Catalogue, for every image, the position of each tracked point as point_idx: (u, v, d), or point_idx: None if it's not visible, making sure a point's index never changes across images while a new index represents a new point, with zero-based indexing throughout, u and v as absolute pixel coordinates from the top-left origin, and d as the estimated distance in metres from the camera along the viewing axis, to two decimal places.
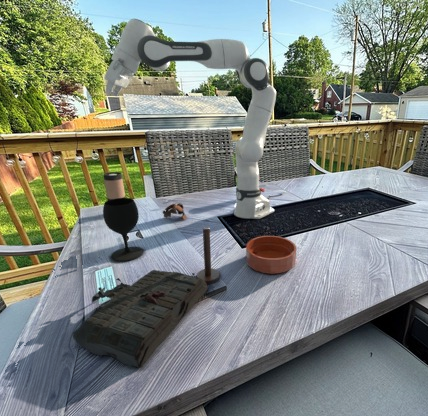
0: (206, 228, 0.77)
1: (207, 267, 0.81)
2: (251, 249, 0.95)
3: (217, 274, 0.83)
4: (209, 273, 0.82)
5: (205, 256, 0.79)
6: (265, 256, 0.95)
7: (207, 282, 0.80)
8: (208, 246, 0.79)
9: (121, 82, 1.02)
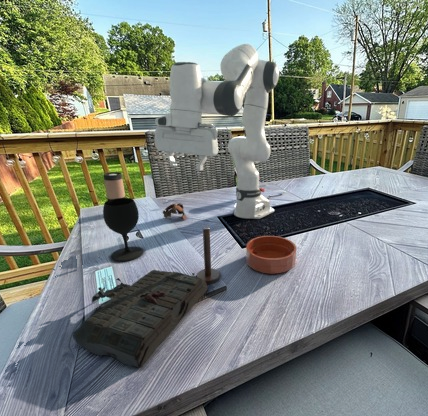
0: (206, 228, 0.77)
1: (207, 267, 0.81)
2: (251, 249, 0.95)
3: (217, 274, 0.83)
4: (209, 273, 0.82)
5: (205, 256, 0.79)
6: (265, 256, 0.95)
7: (207, 282, 0.80)
8: (208, 246, 0.79)
9: None
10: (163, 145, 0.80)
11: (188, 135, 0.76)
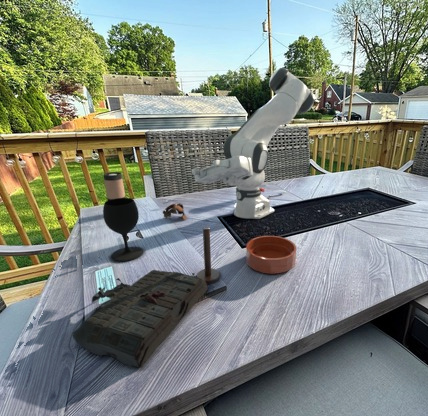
0: (206, 228, 0.77)
1: (207, 267, 0.81)
2: (251, 249, 0.95)
3: (217, 274, 0.83)
4: (209, 273, 0.82)
5: (205, 256, 0.79)
6: (265, 256, 0.95)
7: (207, 282, 0.80)
8: (208, 246, 0.79)
9: (214, 166, 0.87)
10: (234, 169, 0.83)
11: (222, 178, 0.90)
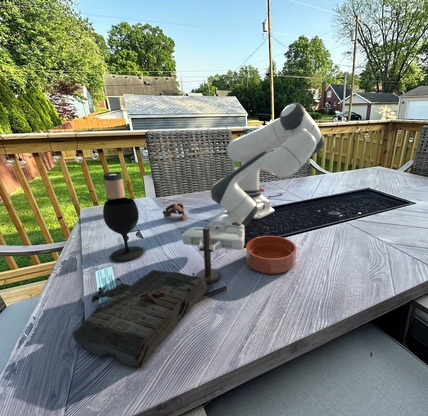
0: (206, 228, 0.77)
1: (207, 267, 0.81)
2: (251, 249, 0.95)
3: (217, 274, 0.83)
4: (209, 273, 0.82)
5: (205, 256, 0.79)
6: (265, 256, 0.95)
7: (207, 282, 0.80)
8: (208, 246, 0.79)
9: None
10: None
11: None
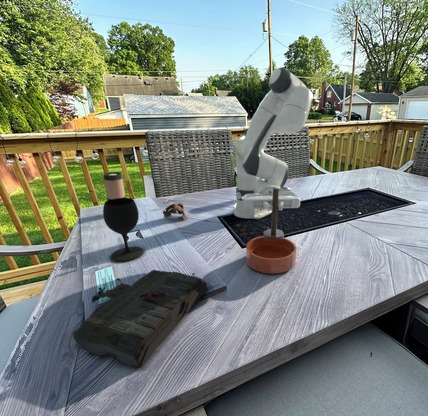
0: (276, 188, 0.85)
1: (275, 225, 0.88)
2: (251, 249, 0.95)
3: (281, 232, 0.91)
4: (276, 231, 0.90)
5: (274, 215, 0.87)
6: (265, 256, 0.95)
7: (278, 238, 0.88)
8: (277, 205, 0.86)
9: (268, 197, 0.91)
10: None
11: None
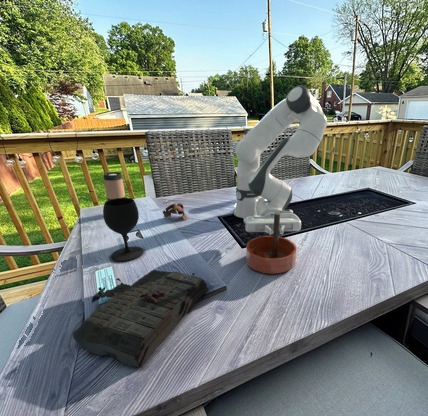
0: (277, 213, 0.86)
1: (276, 249, 0.90)
2: (251, 249, 0.95)
3: (282, 254, 0.93)
4: (277, 254, 0.91)
5: (275, 239, 0.89)
6: None
7: None
8: (278, 229, 0.88)
9: (269, 220, 0.93)
10: None
11: None
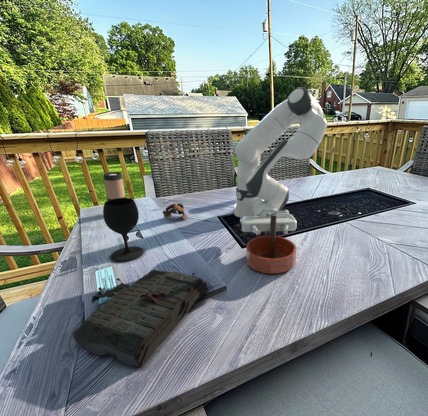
0: (274, 215, 0.88)
1: (273, 250, 0.91)
2: (251, 249, 0.95)
3: (279, 255, 0.94)
4: (273, 255, 0.93)
5: (272, 240, 0.90)
6: None
7: None
8: (275, 230, 0.89)
9: (265, 220, 0.94)
10: None
11: None
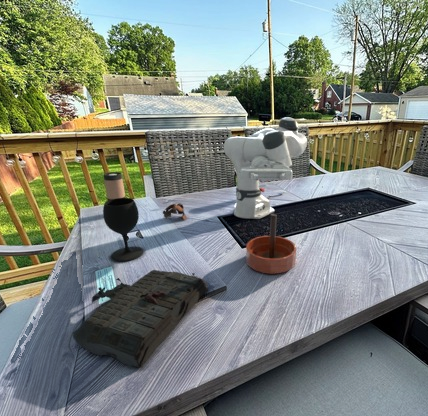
0: (274, 215, 0.88)
1: (273, 250, 0.91)
2: (251, 249, 0.95)
3: (279, 255, 0.94)
4: (273, 255, 0.93)
5: (272, 240, 0.90)
6: None
7: None
8: (275, 230, 0.89)
9: (263, 169, 1.00)
10: None
11: None
